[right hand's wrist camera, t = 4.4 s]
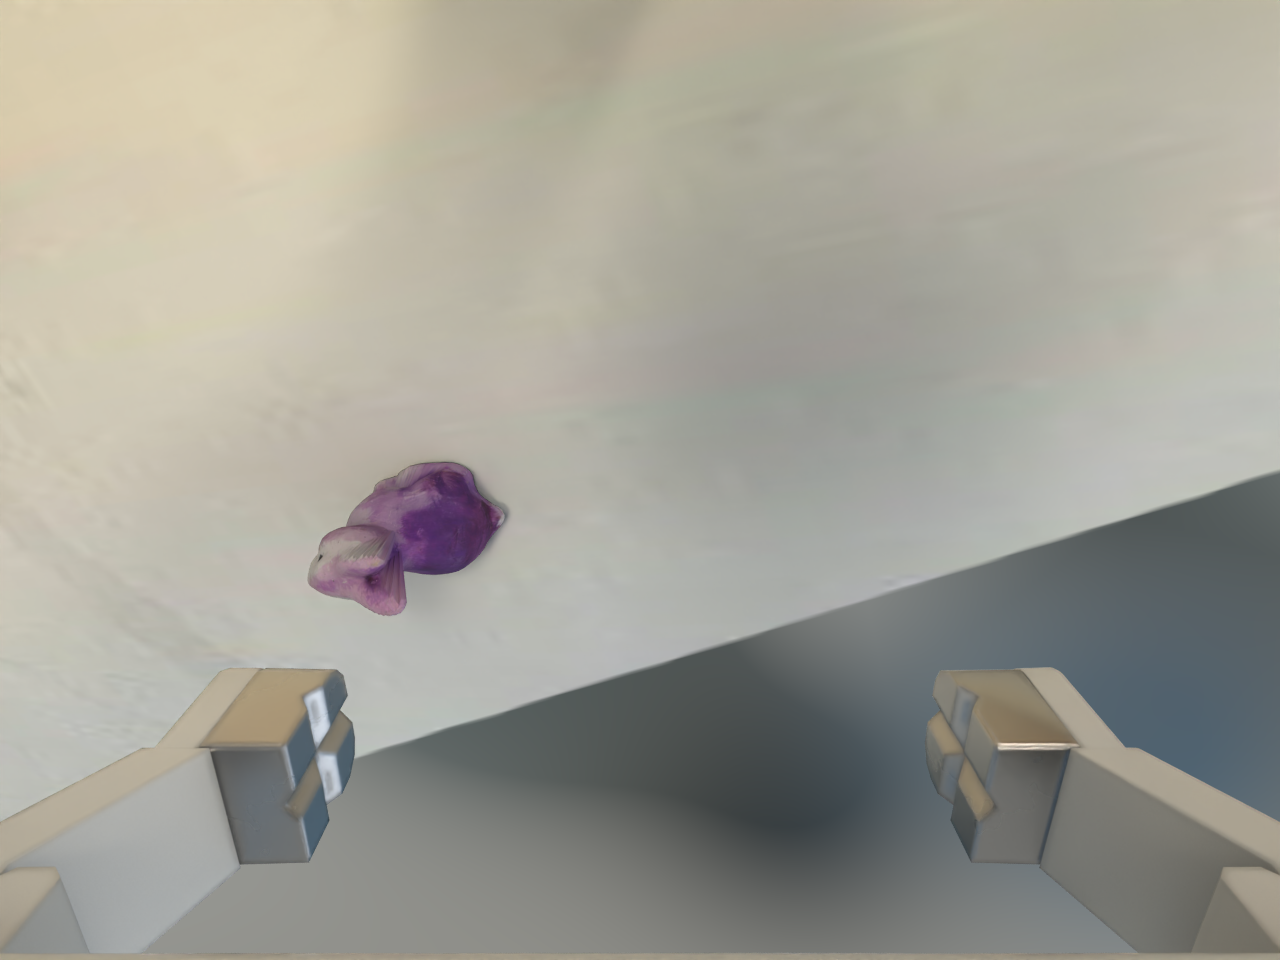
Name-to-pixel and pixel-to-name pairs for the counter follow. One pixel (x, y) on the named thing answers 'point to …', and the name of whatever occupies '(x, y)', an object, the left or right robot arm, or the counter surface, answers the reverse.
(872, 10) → the counter surface
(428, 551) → the figurine
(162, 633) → the counter surface
